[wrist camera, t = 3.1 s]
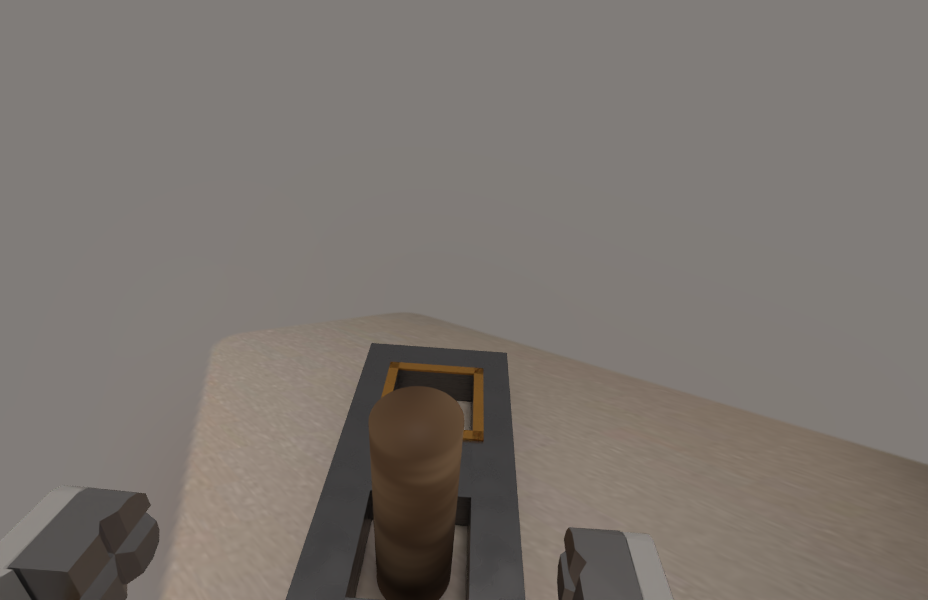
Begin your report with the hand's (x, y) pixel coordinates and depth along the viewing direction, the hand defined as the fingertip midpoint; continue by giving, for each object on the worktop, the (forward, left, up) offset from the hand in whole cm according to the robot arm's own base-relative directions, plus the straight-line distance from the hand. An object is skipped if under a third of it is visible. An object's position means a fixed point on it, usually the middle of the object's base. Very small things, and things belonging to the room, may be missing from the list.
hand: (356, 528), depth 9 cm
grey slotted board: (-6, -16, -21) cm, 27 cm away
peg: (-4, -10, -21) cm, 23 cm away
